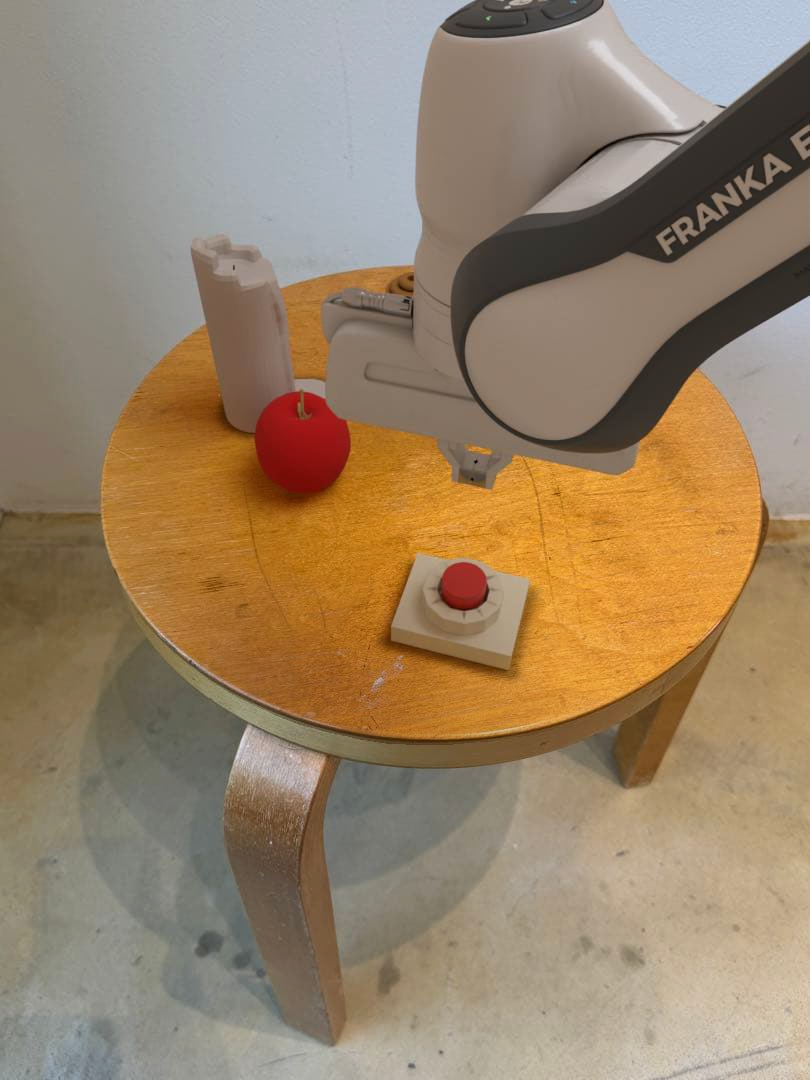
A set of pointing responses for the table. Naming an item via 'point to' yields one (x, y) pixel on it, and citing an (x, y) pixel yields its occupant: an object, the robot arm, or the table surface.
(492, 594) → the switch box
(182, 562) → the table surface
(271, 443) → the fruit
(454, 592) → the power button
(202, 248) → the candle
